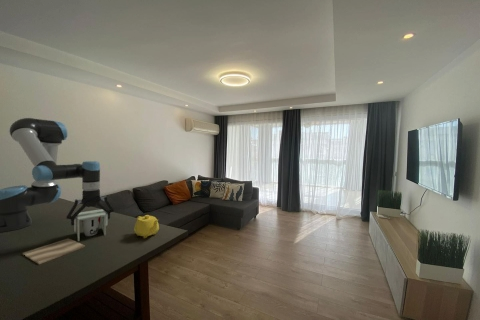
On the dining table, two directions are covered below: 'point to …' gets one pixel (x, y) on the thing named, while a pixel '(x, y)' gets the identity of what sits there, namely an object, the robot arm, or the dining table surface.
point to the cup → (91, 226)
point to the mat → (53, 250)
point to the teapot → (146, 226)
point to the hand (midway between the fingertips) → (91, 227)
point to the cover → (92, 215)
